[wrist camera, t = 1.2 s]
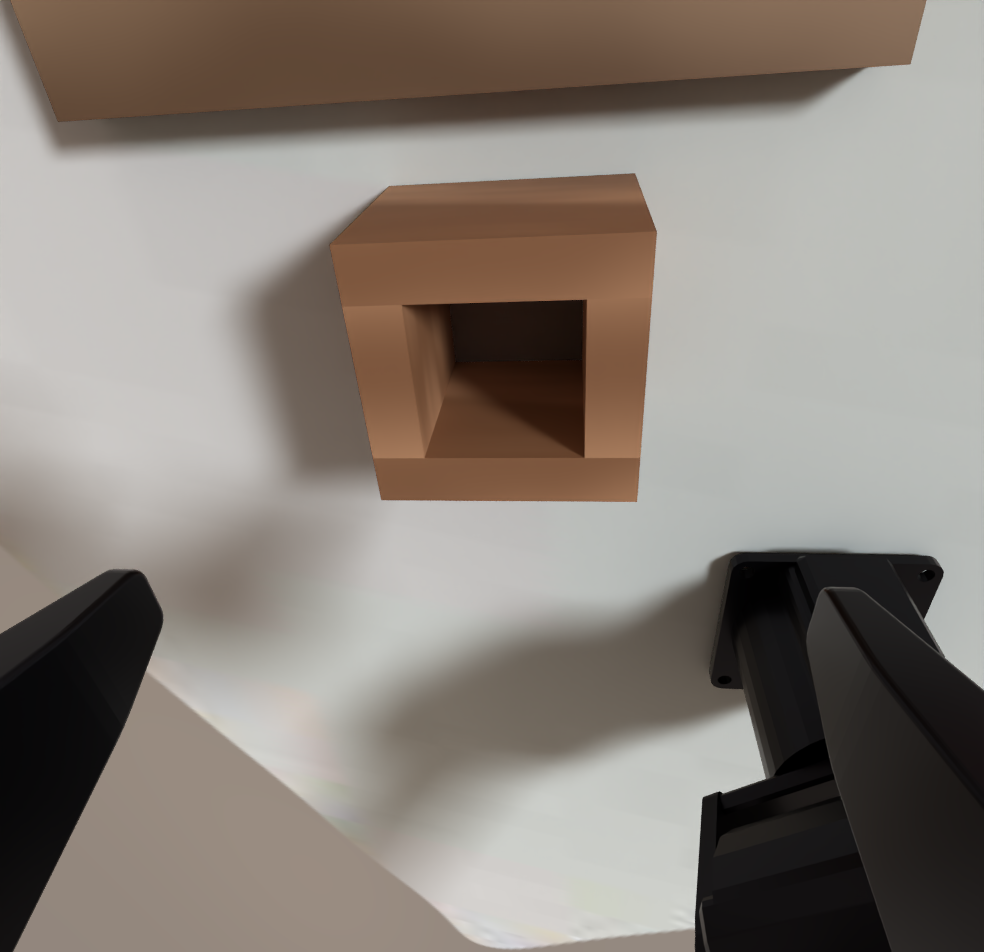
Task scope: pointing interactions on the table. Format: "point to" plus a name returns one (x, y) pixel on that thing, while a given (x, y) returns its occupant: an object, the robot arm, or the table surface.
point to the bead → (500, 384)
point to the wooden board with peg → (429, 47)
